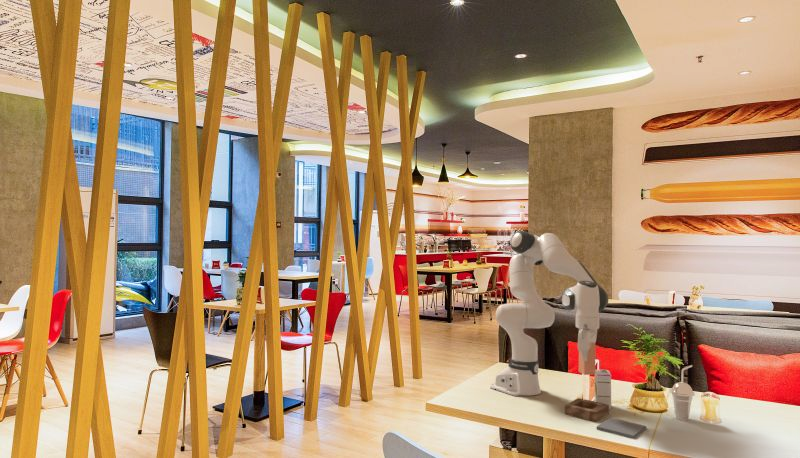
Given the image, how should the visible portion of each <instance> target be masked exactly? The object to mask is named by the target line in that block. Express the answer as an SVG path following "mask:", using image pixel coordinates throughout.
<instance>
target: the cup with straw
mask: <svg viewBox="0 0 800 458" xmlns="http://www.w3.org/2000/svg"><path fill="white" fill-rule="evenodd" d="M692 367H693V364H691V365H688V366H685V367H682V369H681V376H680V377H681V381H679V382H676V383H674V384H673V386H672V388H670V390H669V393H670V394H671V396H672V400H673V401H672V402H673V408H674V409H673V410H674V415H675V419H676V420H678V421H683V422H684V421H685V422H687V421H689V417H690V412H691V406H692V400H693V397H694V396H696V395H695V392H694V391H693V388H692V387H691V385H690V384H688V383H687V382H684V371H685V370H688V369H690V368H692Z"/></svg>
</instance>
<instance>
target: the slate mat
mask: <svg viewBox="0 0 800 458" xmlns="http://www.w3.org/2000/svg"><path fill="white" fill-rule="evenodd" d="M596 430H599V431H602V432H606V433H610V434H614V435H619V436H622V437H625V438H630V439H633V440H634V439H635V438H636V437H638V436H639V435H640V434H642V433H643V432H644V431H645V430H647V425H644V424H640V423H635V422H633V421H632V422H631V421H627V420H623V419H618V418H614V417H609V418H608V419H606V420H604V421H603V422H601V423H599V424H598V425H597V426H596Z"/></svg>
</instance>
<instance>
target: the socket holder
mask: <svg viewBox="0 0 800 458" xmlns="http://www.w3.org/2000/svg"><path fill="white" fill-rule="evenodd" d="M609 414H610V409H609V405H607V404H603V403H599V402H595V400H590V399H586V398H585V399H584V398H579V397H578V398H576V399H574V400H572V401H570V402H568V403H566V404H564V415H568V416H571V417H574V418H579V419H583V420H587V421H593V422H595V423H597V422H598V421H600V420H602V419H603V418H605V417H606V416H608V415H609Z"/></svg>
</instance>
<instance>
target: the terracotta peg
mask: <svg viewBox="0 0 800 458" xmlns="http://www.w3.org/2000/svg"><path fill="white" fill-rule="evenodd" d="M595 370H596V342H595V343H593V342H592V343H591V348H590V349H589V350H588V360H587V361H583V356H582V351H578V372H579V373H580V374H582V375H583V376H587V375H588V376H589V375H595Z"/></svg>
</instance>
